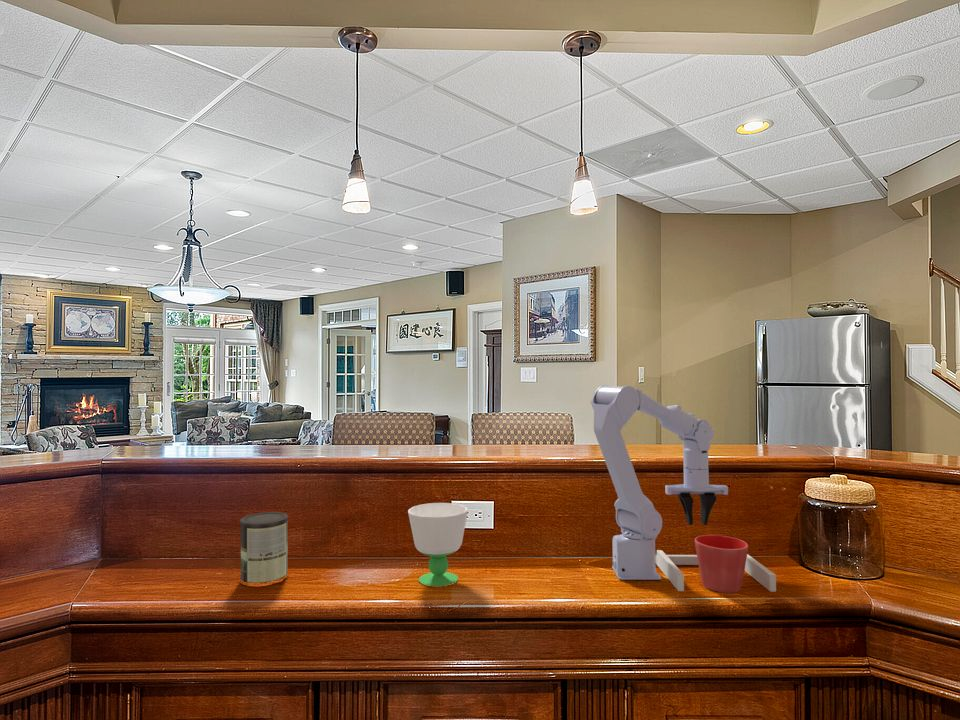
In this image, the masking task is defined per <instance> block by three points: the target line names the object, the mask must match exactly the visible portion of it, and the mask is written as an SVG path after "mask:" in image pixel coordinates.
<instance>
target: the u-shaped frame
mask: <svg viewBox="0 0 960 720" xmlns="http://www.w3.org/2000/svg"><path fill="white" fill-rule="evenodd" d="M655 565H656V566H657V567H658V568H659V569H660V570H661V571H662V573H663V574H664V576H665V577H666V578H667V579H668V581H670V582H671V584H672V585H673V586H674V587H675V589H676V590H677V591H678V592H685V576H684V575H685V574H684V573H683V572H682V571H681V569H679V568H678V566H682V565H683V566H684V565H685V566H699V564H698V558H697V554H666V553H665V552H664V551H663V550H661V549H656V554H655ZM744 572H746V573H747V574H748V575H750V576H751V577H752V578H753V579H754V580H756V581H757V582H758V583H759V584H760V585H762V586H763V587H764V588H765V589H767V590H768V591H769V592H770V593H771V592H773V593H774V592H776V593H777V574H776V573H774V572H773V571H771V570H770V569H769V568H767V567H766V566H764V565H763V564H762V563H760V562H759V561H758V560H756V559H755V558H753V556H751V555H750V554H748V553H747V559H746V564H745V570H744Z"/></svg>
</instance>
